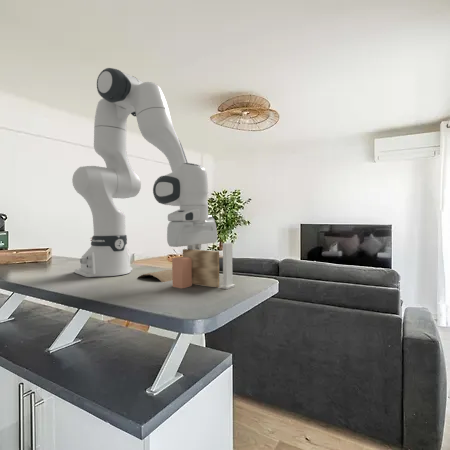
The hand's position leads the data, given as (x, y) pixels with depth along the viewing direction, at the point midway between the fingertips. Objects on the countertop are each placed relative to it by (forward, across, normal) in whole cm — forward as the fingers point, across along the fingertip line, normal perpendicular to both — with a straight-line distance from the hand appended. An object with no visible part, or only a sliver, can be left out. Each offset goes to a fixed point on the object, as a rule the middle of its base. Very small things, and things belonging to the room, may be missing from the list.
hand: (194, 259), depth 98 cm
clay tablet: (+8, 0, -15) cm, 17 cm away
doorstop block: (+7, +6, 0) cm, 10 cm away
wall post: (+7, 0, +13) cm, 15 cm away
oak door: (+7, +3, +4) cm, 9 cm away
